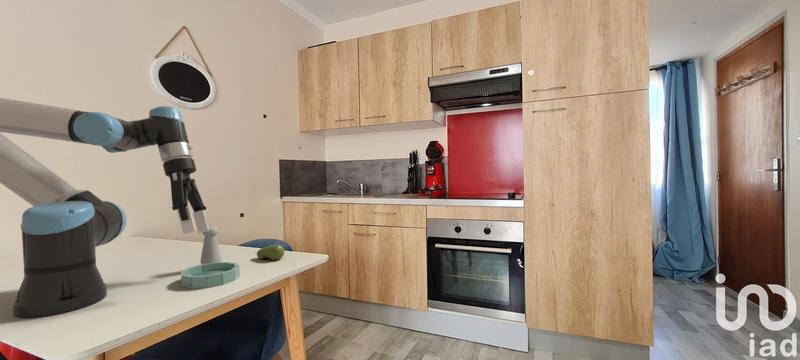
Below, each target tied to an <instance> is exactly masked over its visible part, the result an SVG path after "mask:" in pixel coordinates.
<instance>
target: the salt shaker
mask: <svg viewBox="0 0 800 360" xmlns="http://www.w3.org/2000/svg"><path fill="white" fill-rule="evenodd" d="M208 228H209V231H206V232H203V233H202V235H203V236H204V238H203V239H204V240H203V244H202V245H203V246H202V250H201V256H200V259H199V260H200V265H201V264H208V263H215V262H222V254H221V251H220V247H219V242H218V239H217V235H218V234H219V229H218V227H217V226H208Z"/></svg>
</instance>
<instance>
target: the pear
mask: <svg viewBox="0 0 800 360" xmlns="http://www.w3.org/2000/svg"><path fill="white" fill-rule="evenodd" d="M284 254H285V248H284V246H283V245H281V244H271V245H268V246H266V247H265V246H264V247H262V248H260V249H259V250H258V251H256V256H257V259H258V260H259V259H260V261H261V260H263V259H266V258H267V259H269V260H271V261H272V260H273V261H278V260H279V261H280V259H283V257H284Z"/></svg>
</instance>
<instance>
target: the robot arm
mask: <svg viewBox="0 0 800 360" xmlns="http://www.w3.org/2000/svg"><path fill="white" fill-rule="evenodd" d="M3 133H4V134H13V135H21V136H28V137H36V138H42V139H49V140H57V141H65V142H73V143H78V144H86V145H91V146H97V147H102V148H103V149H104V150H105V151H106V152H108V153H112V154H115V153H121V152H122V153H124V152H128V151H130V150H135V149H136V150H137V149H141V148H146V147H150V146H156V145H157V148H158V153H159V156H160V159H161V161H160V162H162V163H163V164H162V168H163V171H164V175H165V176H166V177H168V178H169V180H170V190H171V191H170V192H171V193H170V194H171V203H172V204H171V206H172V207H171V209H172V211H177V216H178V218H179V223H180V227H181V229H182V234H183V235H186V234H187V235H188V234H189V233H193V232H196V231H197V233H198V234H203V232H206V231H209V228H208V227H209V225H208V221H207V218H206V215H205V214H206V213H205V211H206V210H207V206H205V205H204V202H203V199H202V197H201V194H200V192H199V189H198V187H197V184H196V180H195V178H191V176H190V175H191V174H194V173H195V172H197V166H196V163H195V160H194V159H193V153H192V151H191V150H193V149H194V148H193V146H191V145H190V143H189V138H188V134H187V130H186V126H185V122H184V120H183V117H182V114H181V111H180V110H179V109H178V108H176V107H173V106H168V105H162V106H156V107H154V108H151V109H150V110H149V111H148V117H147V118H143V119H136V120H130V121H127V120H125V119H121V118H118V117H115V116H112V115H110V114H108V113H104V112H99V111H82V110H78V109H72V108H66V107H60V106H59V107H58V106H52V105H48V104H42V103H35V102H30V101H29V102H28V101H22V100H17V99H11V98H6V97H5V98H4V97H0V184H1V185H2V186H4V187H5V188H6V189H8V190H10V192H12V193H14V194H15V195H17V196H18V197H20V198H21V199H22V200H24V201H25V202H27V203H28V204H29V205H31V206H32V207H29V208H27V209H26V210H25V211H23V213H22V216H21V217H22V218H21V224H20V230H21V241H22V255H23V257H22V259H23V274H24V275H23V276H24V277H23V280H22V282H21V284H20V287H19V290H18V291H17V296H16V299H14V302H13V306H12V308H13V309H12V310H13V316H15V317H18V318H36V317H46V316H52V315H58V314H62V313H66V312H71V311H74V310H78V309H82V308H85V307H87V306H90V305H93V304H96V303H98V302H100V301H102V300H103V299H105V297H107V295H108V293H107V291H108V290H107V289H108V288H107V284H106V283H105V282H104V279H103V277H102V275H101V273H100V271H99V268H98V267H97V261H96V260H97V259H96V257H97V256H96V255H97V254H96V248H97V247H99V246H104V245H106V244H108V243H110V242H112V241H114V240H115V239H116V238H118V237H119V236H121V234H122V233H123V232H124V230H125V228H126V225H127V216H126V213H125V211H124V210H123V209H122V207H121V206H119V205H118V204H116V203H114V202H110V201H105V200H102V199H100V198H99V197H98V196H97V195H95V194H94V193H93V192H92V191H89V190H88V189H76V188H75V187H74V186H73V185H71V184H70V183H68V182H67V181H66V180H64V179H63V178H62V177H60V176H59V175H58V174H56V173H55V172H54V171H52V170H51V169H50V168H48V167H47V166H45V164H43V163H42V162H40V161H39V160H38V159H36V158H35V157H34V156H32V155H31V154H29V153H28V152H27V151H26V150H24V149H23V148H22V147H20V146H19V145H17V144H16V143H14V141H12V140H11V139H10V138H8V137H7V136H6V135H4V134H3ZM188 203H189V204H190V206H191V208H192V210H193V211H191V208H190V207H189V205H188ZM192 215H193V216H192ZM193 218H194V219H193ZM194 222H195V223H194ZM196 229H197V230H196Z"/></svg>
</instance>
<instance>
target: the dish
mask: <svg viewBox="0 0 800 360" xmlns="http://www.w3.org/2000/svg"><path fill="white" fill-rule="evenodd" d="M239 277H240V265H239V264H238V263H237V262H231V261H221V262H215V263H208V264H201V263H200V264H197V265H195V266H191V267H188V268H186V269H183V270H182V271H180V284H181V285H180V286H181V287H183V288H187V289H207V288H213V287H218V286H223V285H226V284H228V283H231V282H234V281H236V280H237V279H238V278H239Z"/></svg>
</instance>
